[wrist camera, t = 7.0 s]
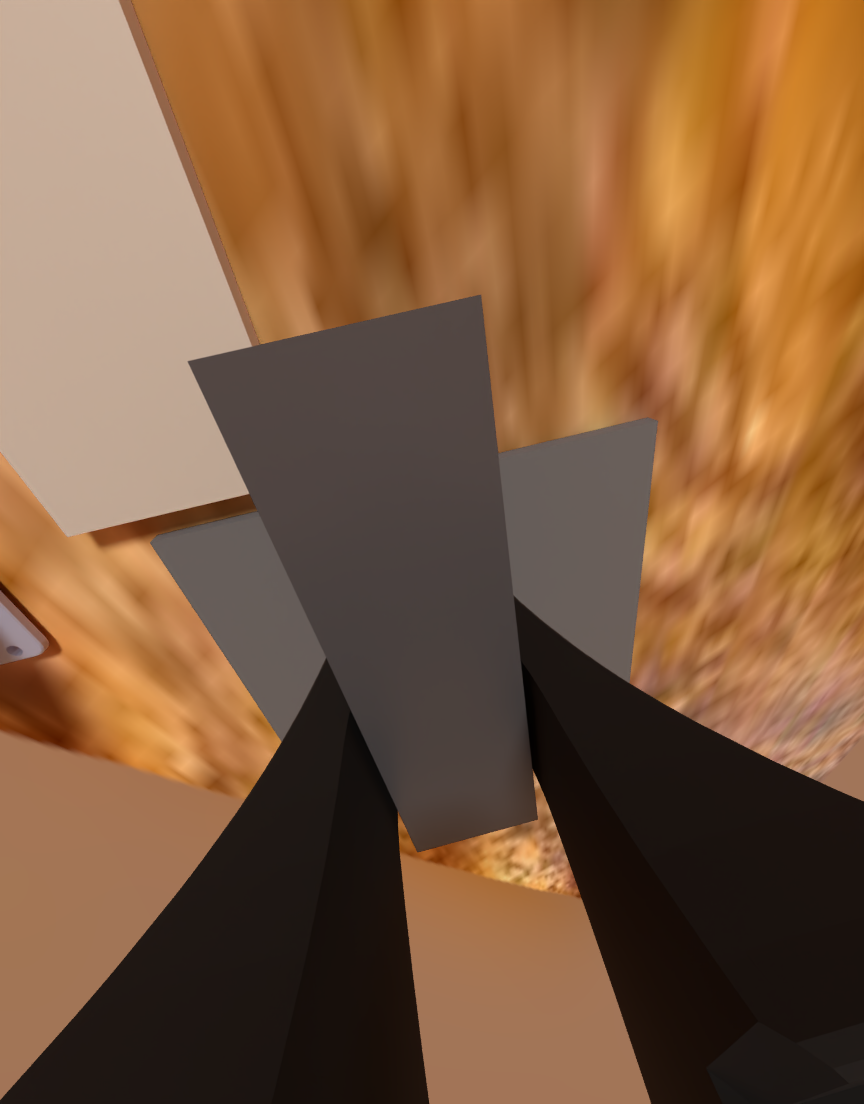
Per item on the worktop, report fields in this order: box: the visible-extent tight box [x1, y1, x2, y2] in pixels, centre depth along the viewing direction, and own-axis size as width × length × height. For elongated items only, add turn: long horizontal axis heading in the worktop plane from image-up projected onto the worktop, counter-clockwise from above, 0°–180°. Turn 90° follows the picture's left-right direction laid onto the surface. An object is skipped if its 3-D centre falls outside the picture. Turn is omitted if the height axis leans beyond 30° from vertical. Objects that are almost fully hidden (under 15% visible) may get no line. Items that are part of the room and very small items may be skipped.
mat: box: [150, 418, 658, 741], centre depth 18 cm, size 19×15×1 cm
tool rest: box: [0, 0, 260, 537], centre depth 9 cm, size 8×17×1 cm, turn 11°
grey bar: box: [187, 295, 538, 852], centre depth 10 cm, size 5×15×6 cm, turn 11°
